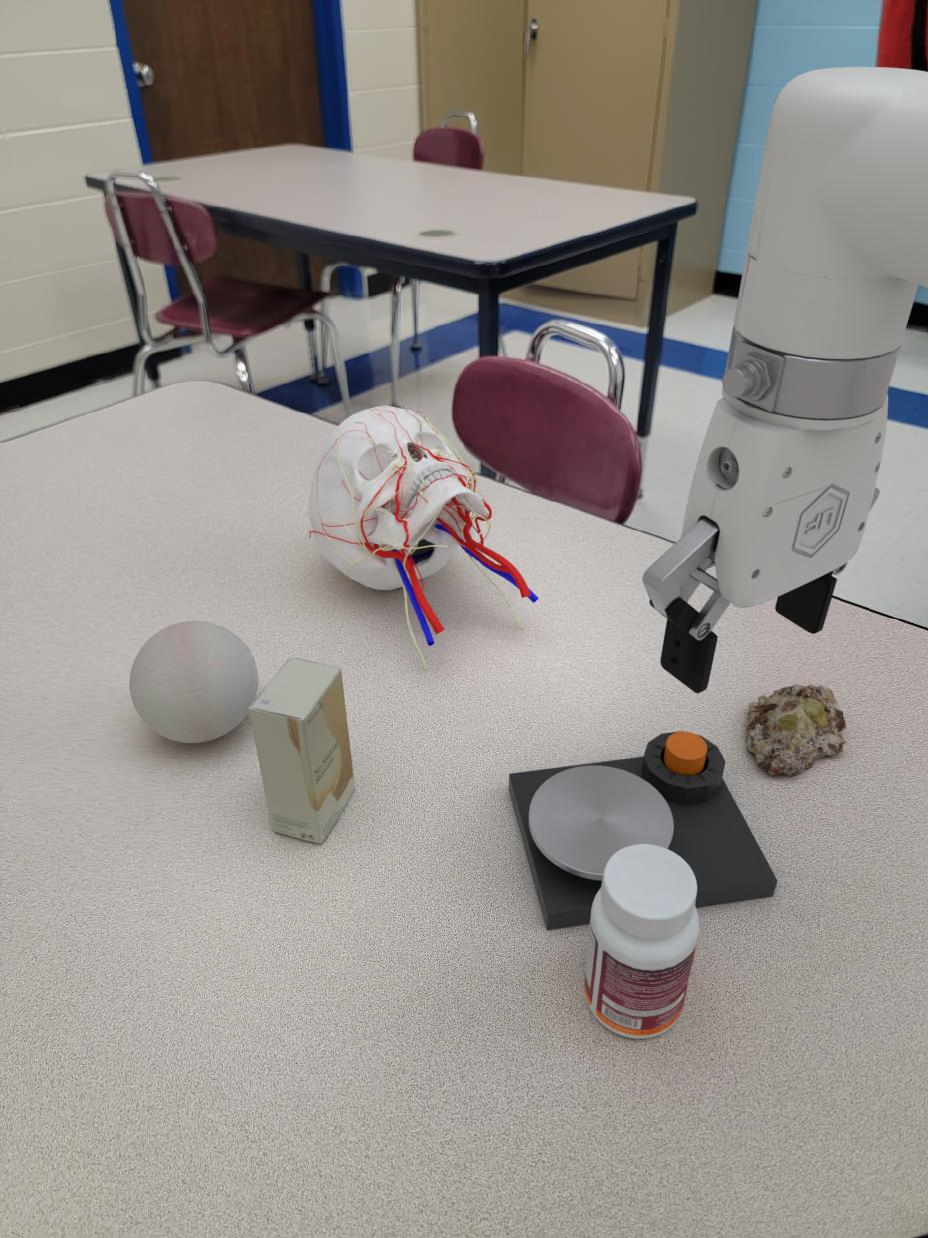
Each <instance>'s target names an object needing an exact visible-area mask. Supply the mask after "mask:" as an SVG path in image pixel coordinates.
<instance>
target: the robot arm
mask: <svg viewBox="0 0 928 1238" xmlns="http://www.w3.org/2000/svg"><path fill="white" fill-rule="evenodd" d="M759 171H760V172H759V179H758V184H757V189H756V195H755V200H754V206H753V210H752V217H751V222H750V223H751V224H750V229H749V233H748V241H747V246H746V252H745V256H744V257H745V258H744V264H743V269H742V274H741V280H740V286H739V290H738V291H739V292H738V296H737V303H736V309H735V314H734V320H733V326H732V331H731V335H730V343H729V347H728V353H727V360H726V365H725V370H724V374H723V376H722V379H721V381H722V382H721V384H722V388H721V394H722V398H720V399H718V400H717V401H716V404H715V407H714V410H713V412H712V415H711V418H710V421H709V424H708V427H707V430H706V433H705V436H704V439H703V441H702V445H701V448H700V451H699V455H698V459H697V462H696V465H695V470H694V473H693V477H692V481H691V485H690V489H689V493H688V498H687V501H686V502H687V503H686V507H685V512H684V518H683V523H682V528H681V534H680V538H679V539H678V540H677V541H676V542H675V543H674V544H672V545H671V546H670V547H669V548H668V549H667V550H666V551H665V552H664V553H662V554H661V555H660V556H659V557H658V559H656V560H655V561H654V562H653V563H652V564H650V566H649V567H648V568H646V570H645V571H644V572H643V574H642V578H641V580H642V583H643V584H642V585H643V586H644V589H645V591H646V593H647V596H648V598H649V605H650V607H652V608H653V609H654V610H656V611H657V612H658V613H659V614H660V615H661V616H663V617H664V618H665V619H666V624H665V629H664V634H663V642H662V648H661V652H660V653H661V654H660V659H659V664H660V666H661V668H662V669H663V670H664V671H666V672H667V673H668V674H669V675H671V676H672V677H674V678H675V679H676V680H677V681H679V682H680V683H682V684H683V685H684V686H685V687H687V688H688V689H689V690H690V691H692V692H693V693H694V694H700V693H703V692H704V691H706V690H707V689H708V686H709V684H710V683H709V682H710V678H711V672H712V669H713V664H714V659H715V653H716V649H717V644H718V638H719V636H718V635H717V633H715V632H714V631H713V629H714V627H715V626H716V625H717V623H718V622H719V620H720V619H721V617H722V616H723V615H724V613H725V612H726V610H727V609H728V607H729V606H730V605H731V604H732V605H733V606H735V607H737V608H739V609H747V608H752V607H755V606H759V605H761V604H764V603H767V602H769V601H772V600H774V599H775V598H776V601H775V606H774V610H775V612H776V613H777V614H778V615H780V616H781V617H783V618H785V619H786V620H788V621H789V622H791V623H793V624H794V625H795V626H798V627H799V628H801V629H802V630H803V631H805V632H807V633H809V634H812V635H815V634H818V633H819V632H821V631H822V630H823V629H824V626H825V622H826V619H827V616H828V612H829V609H830V606H831V602H832V599H833V596H834V592H835V588H836V585H837V582H838V578H837V577H835V576H838V575H841V574H842V573H843V572H844V570H845V569H846V567H847V566H848V563H849V561H851V560H852V559H854V557H855V556H856V554H857V553H858V551H859V548H860V545H861V542H862V540H863V537H864V534H865V529H866V526H867V523H868V518H869V516H870V515H869V514H870V513H871V510H872V509H873V507H874V505H875V503H876V502H877V500H878V499H879V496H880V489H879V488H878V487H876V486H877V482H878V481H877V480H878V476H879V472H880V466H881V462H882V457H883V453H884V447H885V439H886V433H887V423H888V413H889V412H888V411H889V394H888V392H889V388H890V384H891V381H892V378H893V374H894V370H895V368H896V365H897V360H898V356H899V354H900V351H901V346H902V342H903V338H904V335H905V332H906V329H907V325H908V321H909V318H910V315H911V312H912V308H913V305H914V301H915V298H916V294H917V292H918V287H919V286H921V287H924V288H928V71H925V70H918V69H913V68H912V69H911V68H899V67H884V66H883V67H882V66H881V67H880V66H838V67H829V68H820V69H814V70H809V71H807V72H804V73H801V74H799V75H797V76H796V77H794V78H792V79H791V80H790V81H789V82H787V83H786V85H785V86H784V87H783V88H782V90H780V92H779V94H778V96H777V98H776V100H775V102H774V104H773V108H772V109H771V114H770V119H769V123H768V127H767V131H766V138H765V143H764V148H763V154H762V161H761V166H760V170H759ZM713 567H715V572H716V577H715V576H714V575H713V576H712V575H711V574H710V573H708V572H706V571H707V570H709V569H711V568H713ZM700 584H701V585H704V586H705V587H707V588H708V589H710V590H712V591H713V592H712V594H711V595H710V596H709V598H708V599H707V600H706V602H705V603H704V605H703V606H702V608H701V609H700V611H698V610H697V609H696V608H694V607H693V606H692V605H691V604H690V603H689V601H690V599H691V597H692V596H693V594H694V593H695V592H696V591H697V589H698V587H700Z"/></svg>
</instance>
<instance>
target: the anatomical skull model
mask: <svg viewBox="0 0 928 1238" xmlns="http://www.w3.org/2000/svg"><path fill="white" fill-rule="evenodd" d="M420 413H421V414H423V416H424V417H422V415H421V414H419V411H417V412H415V411H413V410H410V409H408V408H406V409H405V408H399V407H395V406H392V405H380V406H379V405H378V406H374V407H371V408H367V409H363V410H360V411H357V412H355V413H353V414H351V415H350V416H348V417H346V419H344V420H343V421H341V422H340V423H339V424H338V426H337V427H336V428H335V429H334V430H333V432H332V433H331V435H330V436H329V438H328V439H327V441H326V443H325V444H324V446H323V448H322V450H321V453H320V455H319V457H318V460H317V463H316V466H315V468H314V471H313V476H312V480H311V483H310V484H311V485H310V490H309V491H310V492H309V498H308V517H309V522H310V525H311V529H312V530H309V531H308V534H309V537H308V539H311V536H312V533H313V537H314V540H315V542H316V544H317V546H318V548H319V550H320V551H321V553H322V555H323V557H325V559H326V560H327V561H328V562H329V563H330V564H331V565H332V566H333V567H334V568H336V570H339V571H340V572H341V573H342V574H343V575H344V577H345V578H349V579H351V580H353V581H355V582H357V583H359V584H361V585H362V586H364V587H366V588H369V589H372V590H373V589H374V590H377V591H378V590H379V591H393V590H395V589H399V588H402V589H403V596H404V597H403V598H404V611H405V619H406V624H407V627H408V630H409V633H410V637H411V640H412V643H413V645H414V647H415V649H416V651H417V653H418V654H419V656H420V658H421V661H422V665H423V671H424V672H425V671H426V670H427V667H426V661H425V658H424V655H423V653H422V651H421V650H420V648H419V646H418V643H417V641H416V638H415V635H414V632H413V629H412V626H411V622H410V617H409V609H408V607H409V606H408V598H409V601H410V604H411V607H412V608H413V611H414V612H415V615H416V618H417V620H418V622H419V625H420V627H421V631H422V633H423V635H424V638H425V640H426V644H427V646H428V647H431V646H433V645H434V644H435V640H434V637H433V634H432V632H431V629H430V627H431V628H432V630H433V632H434V633H435V635H439V634H441V633H442V632H444V631H445V630H446V629H445V627H444V626H443V623H442V622H441V621H440V619H439V618H438V616H437V614H436V613H435V611H434V609H433V608H432V606H431V604H430V603H429V601H428V599H427V598H426V596H425V593H424V588H425V587H424V580H423V579H424V578H428V577H429V576H432V575H434V574H436V573H437V572H439V571H440V570H441V569H442V568H444V566H445V565H446V564H447V563H448V561H449V560H450V559H451V557H452V556H453V554H454V553H455V551H456V549H457V548H458V547H460V548H461V549H462V550H463V551H464V552H465V553H466V554H467V555H468V557H469V559H470V561H471V562H472V563H473V565H474V566H475V567H476V568H477V569H478V570H479V571H480V572H481V573H482V574H483V575H484V576H485V577H486V578H487V579H488V580H489V581H490V582H491V583H492V584H493V586H494V587H495V589H496V590H497V591H498V592H499V594H500V595H501V597H502V599H503V600H504V601H505V603H506V605H507V607H508V608H509V611H510V613H511V615H512V617H513V619H514V620H515V622H516V623H517V624H518V625H519V627H520V628H521V629H522V630H524V629H525V627H524V625H523V624H522V623H520V621H519V620H518V618H517V617H516V615H515V612H514V610H513V607H512V606H511V604H510V603H509V600H508V599H507V598H506V596H505V595H504V593H503V592H502V590H501V589H500V587H499V586H498V585H497V583H496V582H495V581H494V580H493V578H491V577H490V576H489V575H488V574H487V573H486V572H485V570H483V569H482V568H481V566H483V567H484V568H486V569H487V570H489V571H491V572H492V573H494V574H496V575H497V576H500V578H503V579H505V580H506V581H507V582H510V584H511V585H513V586H515V588H517V589H518V590H519V593H520V597H521V599H523V598H528V599H529V601H531V602H532V603H533V604H535V603H536V602H537V601H538V600H539V597H538V596H537V595H536V594H535V592H533V590H531V589H530V587H528V584H527V582H526V580H525V579H524V577H523V575H522V574H521V572H520V571H519V569H518V568H517V567H515V565H513V563H512V562H510V561H509V560H508V559H507V558H505V557H504V556H502V555H501V554H500V553H498V552H496V551H494V550H492V549H490V548H489V547H486V546H485V545H484V544H485V542H484V541H485V539H487V537H488V535H489V533H490V530H491V523H492V521H493V515H492V514H493V512H492V511H493V509H492V508H491V506H490V503H488V502H487V501H486V499H485V496H482V494H481V491H480V488H479V487H478V485H477V482H478V481H477V480H479V478H478V477H477V474H478V473H477V472H474V470H473V469H472V468H471V467H469V466H468V465H467V464H466V463H465V460H464V459H463V457H462V456H461V454H460V452H459V451H458V450H457V449H456V447H455V446H454V445H453V444H451V445H450V444H449V442H448V441H447V439H446V438H445V436H444V435H443V433H442V432H440V431H439V430H438V429H437V428H435V427H434V426H433V424H432V423H431V422H430V420H429V419H428V417H427V415H426V413H425V412H423V411H422V410H420ZM454 449H455V450H454ZM464 479H465V480H464ZM478 521H481V522H486V523H487V524H486V525H485V526H484V527H483V529H482V530H481V527H480V525H479V522H478ZM474 524H475V526H474ZM487 527H488V529H487V532H486V534H485V535H484V536H483V532H484V531H485V529H486V528H487ZM475 532H476V533H477V534H478V535H477V537H479V539H480V541H479V542H477V541H476V540H475V539H473V537H474V536H475ZM486 556H487V557H486ZM489 558H490V559H489ZM475 560H476V561H477V562H479V564H481V566H479V564H477V562H476V561H475ZM493 560H494V561H493ZM495 562H496V563H495ZM419 580H421V584H422V586H421V585H420V582H419ZM421 587H422V588H421ZM407 595H408V596H407ZM428 623H429V624H430V625H431V626H430V625H429V624H428Z"/></svg>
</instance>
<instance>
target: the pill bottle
mask: <svg viewBox="0 0 928 1238" xmlns="http://www.w3.org/2000/svg"><path fill="white" fill-rule="evenodd" d="M696 895H697V882H696V878H695V875H694V873H693V871H692V869H691V868H690V866H689V865H688V864H687V863H686V862H685V861H684V860H683V859H682V858H681V857H680V856H679V855H677V854H676V853H674V852H672V851H670V850H668V849H666V848H663V847H660V846H656V845H651V844H636V845H631V846H628V847H625V848H623V849H621V850H619V851H617V852H616V853H615V854H614V855H613V856H612V857H611V858H610V859H609V861H608V862H607V864H606V866H605V869H604V874H603V881H602V885H601V888H600V890H599V891H598V893H597V894H596V896H595V898H594V901H593V904H592V908H591V917H590V923H589V927H588V936H587V947H586V955H585V957H586V958H585V969H584V979H583V981H584V982H583V987H584V988H583V989H584V990H583V991H584V996H585V1000H586V1003H587V1005H588V1007H589V1010H590V1011H591V1013H592V1014H593V1016H594V1017H595V1019H596V1020H598V1022H599V1023H600V1024H601V1025H602V1026H604V1027H605V1028H606V1029H607V1030H609V1031H611V1032H613V1033H615V1034H617V1035H619V1036H622V1037H626V1038H630V1039H638V1040H641V1039H651V1038H655V1037H658V1036H660V1035H662V1034H664V1033H666V1032H667V1031H669V1030H670V1029H671V1028H672V1027H673V1026H674V1025H675V1024H676V1023H677V1021H678V1020H679V1019H680V1017H681V1014H682V1011H683V1008H684V1004H685V1001H686V997H687V992H688V987H689V982H690V977H691V973H692V968H693V964H694V959H695V955H696V949H697V944H698V940H699V933H700V917H699V912H698V910H697V907H695V901H696Z"/></svg>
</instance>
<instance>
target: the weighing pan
mask: <svg viewBox="0 0 928 1238" xmlns="http://www.w3.org/2000/svg"><path fill="white" fill-rule="evenodd" d="M529 827H530V832H531V835H532V837H533V840H534V842H535V843H536V845H537V847H538V848H539V849H540V851H541V852H542V853H543V854H544V855H545V856H546V857H547V858H548V859H549V860H550V861H551V862H553V863H554V864H555V865H557V866H558V867H560V868H562V869H563V870H565V871H567V872H569V873H572V874H574V875H577V876H580V877H583V878H587V879H592V880H600V881H603V874H604V869H605V866H606V864H607V862H608V861H609V859H610V858H611V857H612V856H613V855H614V854H615V853H616V852H617V851H619V850H621V849H623V848H625V847H628V846H631V845H636V844H651V845H656V846H660V847H663V848H666V849H668V850H669V848H670V845H671V842H672V838H673V831H674V821H673V816H672V813H671V810H670V808H669V806H668V804H667V802H666V800H665V799H664V798H663V796H662V795H661V794H660V793H659V792H658V791H657V790H656V789H655V788H654V787H653V786H652V785H651V784H649V783H648V782H647V781H645V780H644V779H642V778H640V777H638V776H636V775H634V774H632V773H630V772H627V771H624V770H621V769H618V768H613V767H607V766H580V767H575V768H571V769H567V770H565V771H562V772H560V773H557V774H556V775H554V776H552V777H551V778H549V779H548V780H547V781H545V782H544V783H543V784H542V785H541V786H540V787H539V789H538V790H537V791H536V793H535V794H534V796H533V798H532V801H531V804H530V809H529Z"/></svg>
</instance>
